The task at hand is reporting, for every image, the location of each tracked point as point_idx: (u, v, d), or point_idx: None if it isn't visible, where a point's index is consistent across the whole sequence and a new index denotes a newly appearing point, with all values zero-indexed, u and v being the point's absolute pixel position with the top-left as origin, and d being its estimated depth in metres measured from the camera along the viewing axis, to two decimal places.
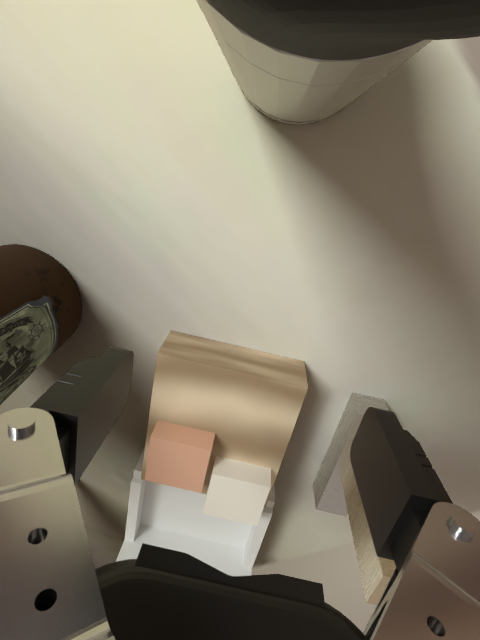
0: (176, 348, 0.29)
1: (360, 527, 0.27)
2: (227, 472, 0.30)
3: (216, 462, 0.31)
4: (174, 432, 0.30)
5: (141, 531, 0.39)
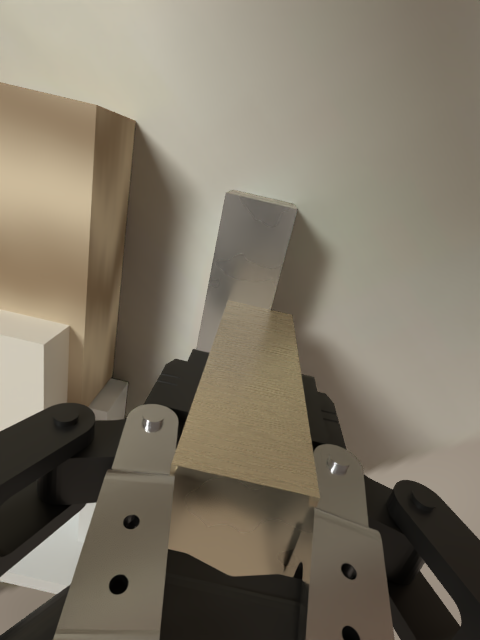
0: None
1: None
2: None
3: None
4: None
5: None
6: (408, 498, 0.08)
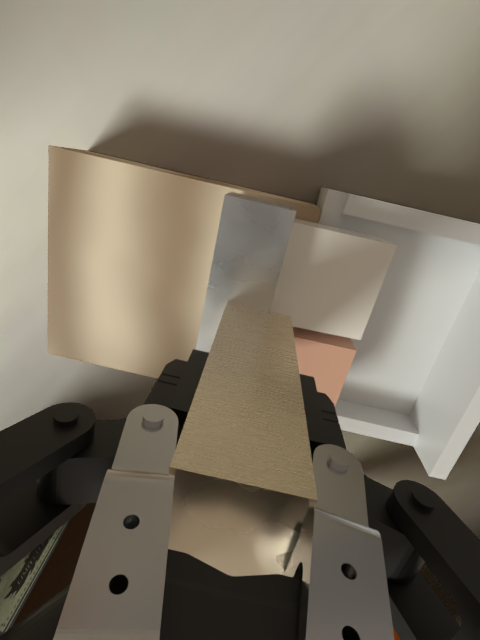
0: None
1: None
2: None
3: None
4: None
5: (415, 417, 0.24)
6: (408, 498, 0.08)
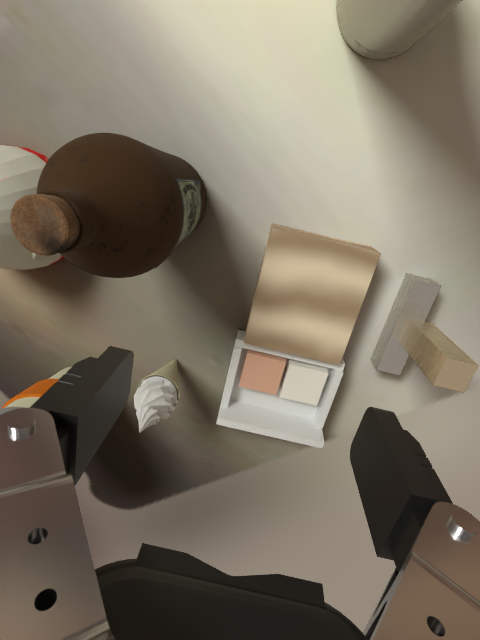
0: (282, 228, 0.39)
1: (422, 350, 0.37)
2: (299, 364, 0.45)
3: (290, 359, 0.46)
4: (260, 352, 0.46)
5: (231, 403, 0.49)
6: None
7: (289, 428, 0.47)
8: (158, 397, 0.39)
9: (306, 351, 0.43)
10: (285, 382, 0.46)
